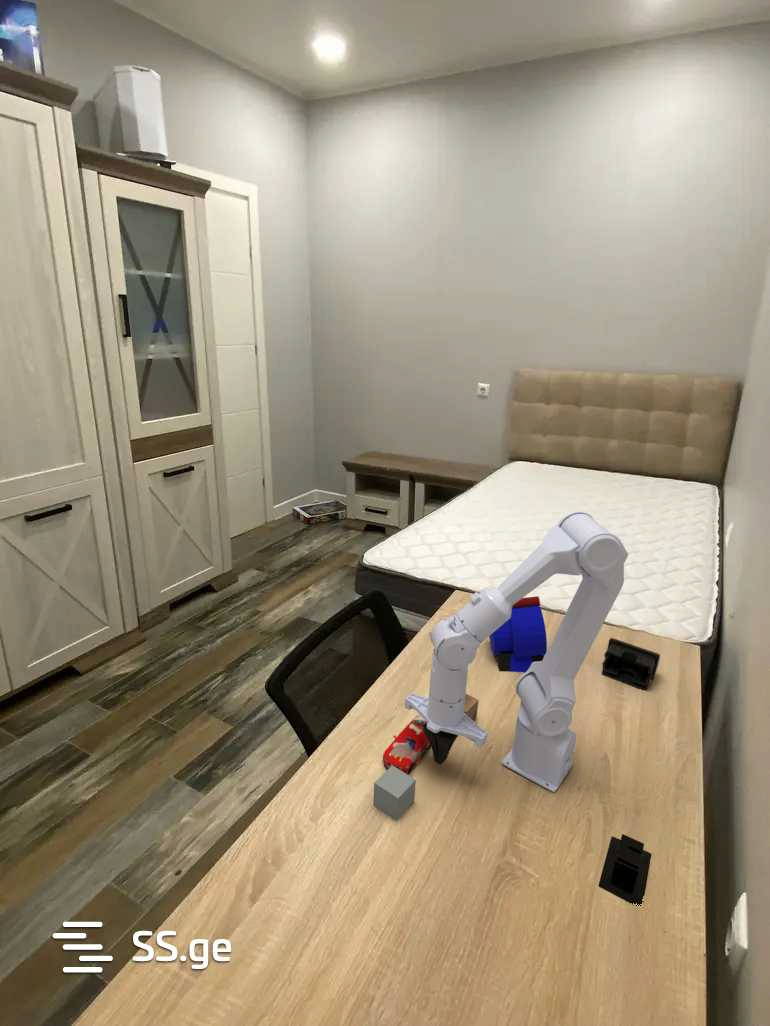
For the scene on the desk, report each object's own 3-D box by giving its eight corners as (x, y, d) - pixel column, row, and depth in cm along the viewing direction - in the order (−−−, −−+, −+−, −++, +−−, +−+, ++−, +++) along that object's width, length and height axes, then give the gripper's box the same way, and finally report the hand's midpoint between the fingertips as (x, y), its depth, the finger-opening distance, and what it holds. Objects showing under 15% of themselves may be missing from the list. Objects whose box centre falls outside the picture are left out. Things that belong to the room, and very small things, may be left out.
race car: (404, 782, 91) (405, 763, 90) (376, 767, 94) (377, 748, 93) (443, 735, 102) (444, 717, 100) (417, 723, 104) (418, 705, 103)
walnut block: (476, 719, 106) (478, 699, 104) (464, 732, 102) (466, 712, 101) (455, 709, 108) (457, 689, 107) (443, 721, 105) (444, 701, 103)
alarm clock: (546, 673, 120) (557, 611, 115) (489, 671, 120) (497, 609, 115) (533, 641, 132) (542, 584, 127) (480, 639, 132) (487, 581, 126)
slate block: (414, 802, 87) (415, 779, 86) (396, 821, 84) (398, 798, 83) (391, 787, 90) (392, 765, 88) (373, 805, 87) (374, 782, 85)
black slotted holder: (655, 676, 121) (662, 649, 119) (648, 692, 115) (654, 664, 113) (607, 659, 126) (613, 632, 124) (598, 674, 121) (604, 646, 119)
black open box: (645, 925, 72) (652, 899, 70) (586, 894, 75) (592, 869, 74) (658, 851, 82) (664, 827, 80) (605, 827, 85) (611, 804, 84)
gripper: (395, 684, 90) (391, 752, 95) (475, 726, 82) (466, 797, 87) (420, 665, 96) (415, 729, 100) (497, 702, 87) (488, 770, 92)
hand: (440, 759), depth 94 cm, fingers closed
